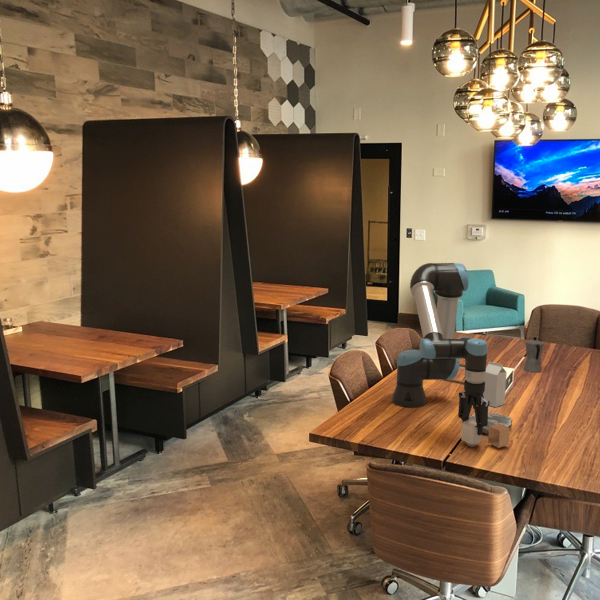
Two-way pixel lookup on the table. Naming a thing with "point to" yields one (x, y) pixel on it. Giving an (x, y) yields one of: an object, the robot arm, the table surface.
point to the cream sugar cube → (468, 432)
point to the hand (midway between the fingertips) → (471, 439)
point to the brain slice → (494, 421)
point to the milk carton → (495, 384)
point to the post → (470, 444)
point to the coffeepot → (533, 355)
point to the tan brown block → (498, 435)
